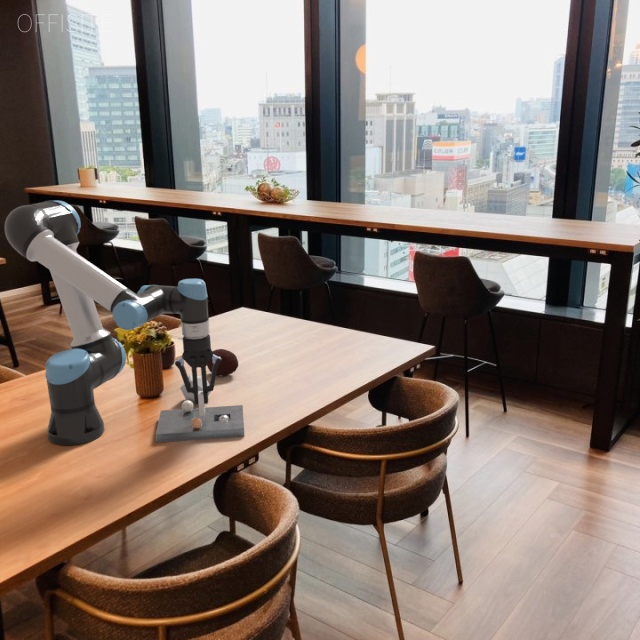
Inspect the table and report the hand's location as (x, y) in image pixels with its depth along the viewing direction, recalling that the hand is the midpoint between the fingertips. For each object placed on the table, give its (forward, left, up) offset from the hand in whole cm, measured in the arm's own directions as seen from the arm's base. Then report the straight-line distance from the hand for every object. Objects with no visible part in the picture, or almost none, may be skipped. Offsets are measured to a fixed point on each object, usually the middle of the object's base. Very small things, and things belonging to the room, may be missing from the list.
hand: (202, 413), depth 197 cm
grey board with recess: (0, 0, -4) cm, 4 cm away
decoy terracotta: (-1, -6, 0) cm, 6 cm away
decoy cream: (-4, +6, 0) cm, 8 cm away
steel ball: (+6, 0, -3) cm, 7 cm away
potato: (+6, +41, -4) cm, 41 cm away
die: (-2, +20, -4) cm, 20 cm away
